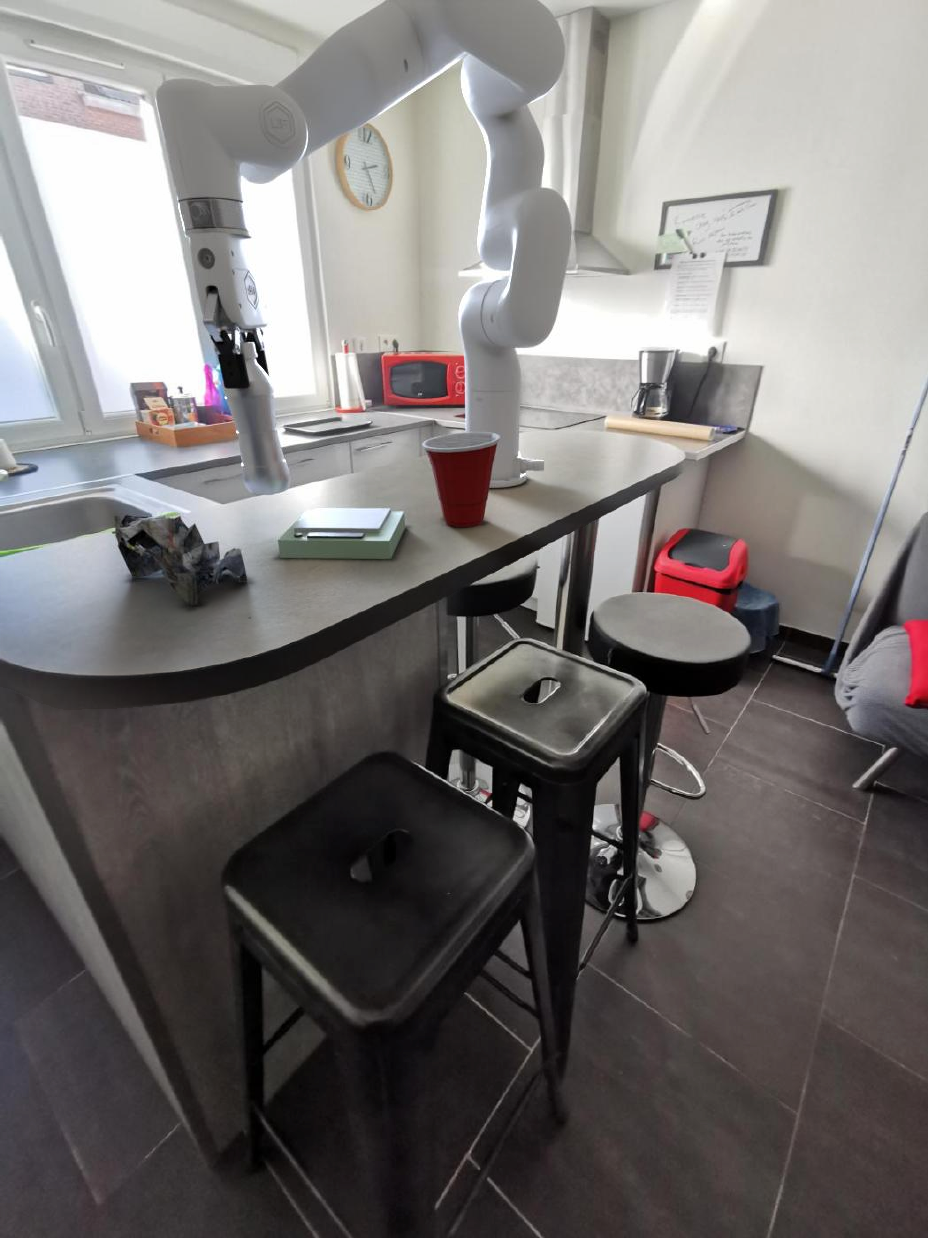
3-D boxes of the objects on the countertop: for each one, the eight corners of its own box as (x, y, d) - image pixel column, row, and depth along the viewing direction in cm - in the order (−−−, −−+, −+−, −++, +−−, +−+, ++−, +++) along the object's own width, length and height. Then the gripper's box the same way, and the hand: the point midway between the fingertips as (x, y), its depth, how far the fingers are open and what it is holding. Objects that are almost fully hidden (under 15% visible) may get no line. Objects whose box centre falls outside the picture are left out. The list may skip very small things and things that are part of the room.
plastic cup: (424, 511, 87) (420, 431, 82) (493, 508, 88) (494, 428, 82) (426, 535, 78) (422, 445, 72) (504, 531, 79) (506, 443, 73)
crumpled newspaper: (121, 598, 53) (94, 483, 59) (150, 650, 62) (125, 546, 68) (248, 569, 58) (212, 464, 64) (258, 621, 67) (225, 526, 73)
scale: (405, 527, 81) (403, 507, 79) (390, 559, 70) (389, 536, 69) (309, 526, 81) (306, 506, 80) (280, 558, 71) (276, 535, 69)
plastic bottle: (280, 500, 80) (250, 343, 70) (237, 499, 81) (201, 344, 71) (301, 488, 85) (275, 340, 76) (260, 487, 86) (230, 341, 77)
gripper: (214, 210, 59) (250, 392, 68) (272, 230, 75) (296, 377, 83) (146, 213, 60) (190, 394, 69) (217, 232, 75) (246, 378, 84)
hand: (248, 383), depth 76 cm, fingers closed on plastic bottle, 6 cm apart
